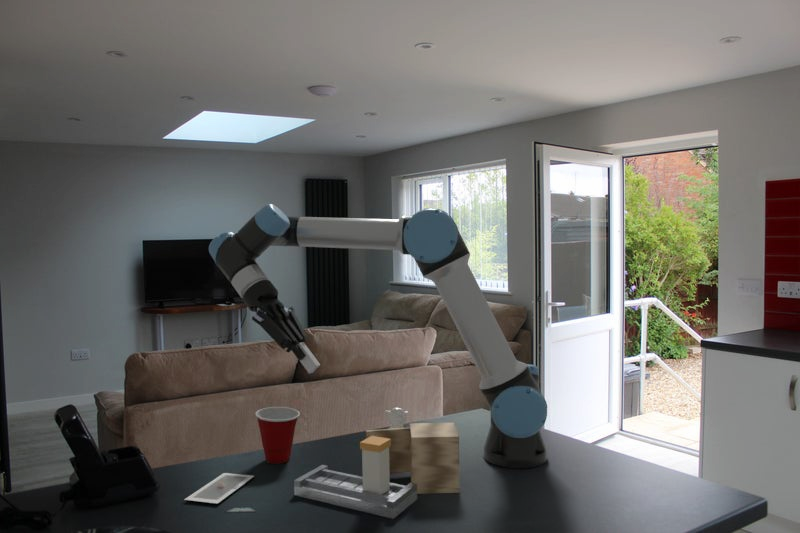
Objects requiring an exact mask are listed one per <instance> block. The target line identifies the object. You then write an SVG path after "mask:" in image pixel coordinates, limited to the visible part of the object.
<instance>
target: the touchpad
mask: <svg viewBox="0 0 800 533" xmlns="http://www.w3.org/2000/svg"><path fill="white" fill-rule="evenodd" d="M254 477H255V475H251V474H250V475H249V474H239V473H231V472H230V473H229V472H223V473H221V474H220V475H219V476H217V477H216V478H214V479H213V480H212V481H209V482H208V483H207V484H205V485H204V486H202V487H200V488H199V489H198V490H196V491H195V492H193V493H192V494H190V495H189V496H187V497H186V498H184V501H193V502H201V503H209V504H219V503H221V502H222V501H223V500H225V499H227V497H229V496H230V495H231V494H233V493H234V492H235V491H237V490H238V489H239V488H241V487H242V486H244V485H245V484H246V483H247V482H249V481H250V480H252V478H254Z"/></svg>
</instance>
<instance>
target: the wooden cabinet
mask: <svg viewBox="0 0 800 533" xmlns="http://www.w3.org/2000/svg"><path fill="white" fill-rule="evenodd" d="M370 436H376V437H383V438H389V439H391V446H390V447H389V474H390V475H391V474H401V473H402V474H403V473H410V483H416V484H417V495H421V494H423V495H424V494H455V493H456V494H458V493H459V494H460V492H461V491H460V487H461V486H460V484H461V482H460V481H461V480H460V479H461V478H460V436H459V433H458V430H457V427H456V424H455V422H417V423H416V422H415V423H413V422H412V423H409V427H403V428H393V429H389V428H384V429H383V428H381V429H367V430H365V439H367V438H369V437H370Z"/></svg>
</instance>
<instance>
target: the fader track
mask: <svg viewBox="0 0 800 533" xmlns="http://www.w3.org/2000/svg"><path fill="white" fill-rule="evenodd" d="M328 467H329V466H328V465H325V464H321V465H319V466H317V467H316V468H314V469H312V470H310V471H308V472H306V473H305V474H303V475H301V476H299V477H298V478H295V479H294V480H293V486H294V487H293V489H294V490H293V491H294V496H297V497H301V498H305V499H309V500H313V501H318V502H322V503H324V504H325V503H327V504H330V505H334V506H337V507H343V508H345V509H350V510H355V511H359V512H363V513H368V514H372V515H374V516H375V515H376V516H381V517H384V518H389V519H393V520H394V519H395V518H397V517H398V516H399V515H400V514H402V512H404V511H405V510H406V509H408V508H409V507H410V506H411V505H412V504H413V503H415V502H416V501H417V500H418V494H417V484H416V483H411V482H409V483H408V484H406V485H404V484H398V483H395V482H390V489H389V490H388V491H386V492H385V493H384V494H382V495H381V494H377V493H372V492H368V491H363V476H362V475H361V476H360V475H355V474H350V473H346V472H341V471H335V470H331V469H329V468H328Z"/></svg>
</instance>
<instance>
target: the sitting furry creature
mask: <svg viewBox="0 0 800 533" xmlns="http://www.w3.org/2000/svg"><path fill="white" fill-rule="evenodd" d="M384 413H385V415H387V418H388V419H387V420H388V422H389V424H390V426H389V427H388V429H393V428H404V424H405V423H406V422H407V414H408V410H406V411H405V410H404V409H403V408H400V407H398V406H397V407H393V408H391V409H390V410H384Z"/></svg>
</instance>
